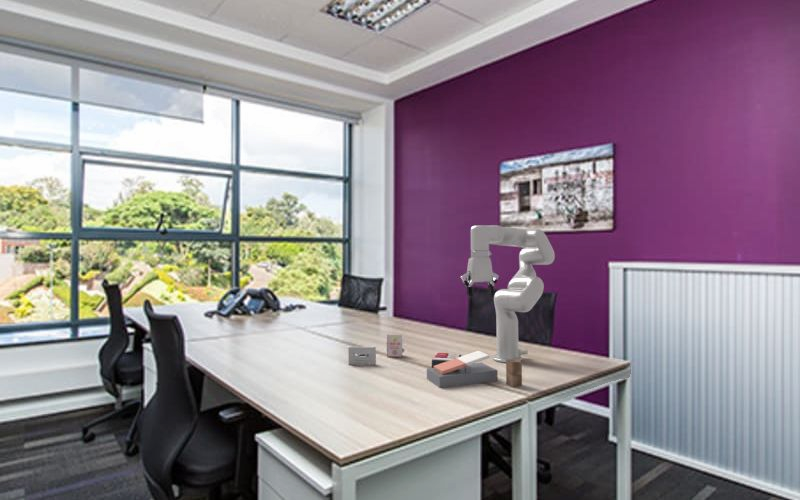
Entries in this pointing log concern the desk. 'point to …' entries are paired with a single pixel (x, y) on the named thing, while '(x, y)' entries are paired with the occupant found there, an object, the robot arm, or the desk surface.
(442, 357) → the calculator
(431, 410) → the desk surface
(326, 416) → the desk surface
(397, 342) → the white cardboard box
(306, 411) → the desk surface
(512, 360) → the peg
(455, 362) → the breaker rocker
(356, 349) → the cassette
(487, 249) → the robot arm
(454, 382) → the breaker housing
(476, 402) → the desk surface
